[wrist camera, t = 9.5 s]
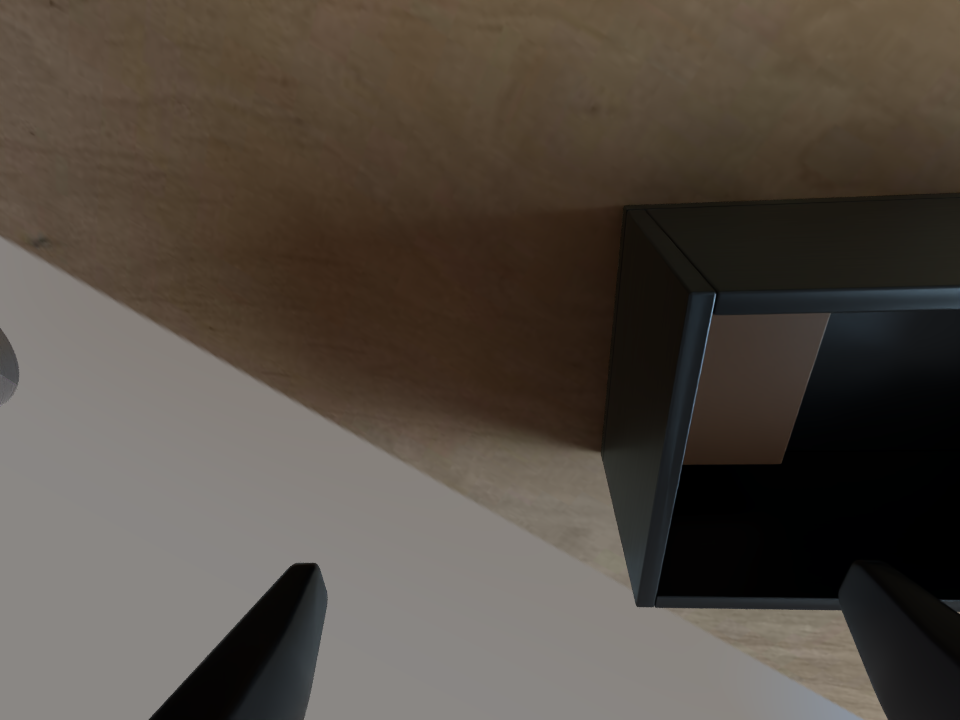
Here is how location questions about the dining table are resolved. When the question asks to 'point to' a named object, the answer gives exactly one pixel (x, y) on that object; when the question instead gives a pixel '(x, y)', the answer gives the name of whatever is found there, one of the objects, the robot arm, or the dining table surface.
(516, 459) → the dining table surface
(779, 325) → the brown block
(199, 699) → the robot arm
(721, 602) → the trash bin
